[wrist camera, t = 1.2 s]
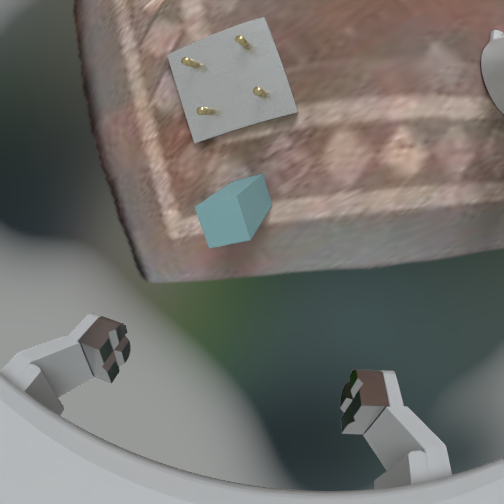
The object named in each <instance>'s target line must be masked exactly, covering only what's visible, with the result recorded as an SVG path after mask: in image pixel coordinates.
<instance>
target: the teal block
mask: <svg viewBox="0 0 504 504" xmlns="http://www.w3.org/2000/svg"><path fill="white" fill-rule="evenodd" d="M271 206H272V203H271V199H270V196H269V192H268V189H267V185H266V182H265V178H264V175H263V174H260V175H256V176H252V177H248V178H244V179H240V180H237V181H233V182H231V183H230V184H228V185H227V186H225V187H223V188H222V189H220V190H219V191H217V192H216V193H215V194H213V195H212V196H210V197H209V198H207V199H206V200H204V201H203V202H201V203H200V204H198V205H197V206H195V209H196V212H197V215H198V218H199V221H200V223H201V226H202V229H203V232H204V235H205V237H206V240H207V243H208V246H209V248H213V247H218V246H223V245H228V244H234V243H239V242H244V241H249V240H251V239H252V237H253V235H254V234H255V232H256V230H257V229H258V227H259V226H260V224H261V222H262V221H263V219H264V217H265V216H266V214H267V212H268V211H269V209H270V208H271Z"/></svg>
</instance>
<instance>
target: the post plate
mask: <svg viewBox="0 0 504 504" xmlns="http://www.w3.org/2000/svg"><path fill="white" fill-rule="evenodd" d="M167 56H168V59H169V63H170V66H171V69H172V73H173V76H174V79H175V83H176V86H177V89H178V92H179V96H180V99H181V102H182V105H183V109H184V112H185V115H186V118H187V121H188V125H189V128H190V131H191V134H192V137H193V140H194V144H195V143H199V142H202V141H205V140H208V139H210V138H213V137H216V136H219V135H222V134H225V133H228V132H231V131H234V130H238V129H241V128H244V127H247V126H251V125H254V124H257V123H261V122H264V121H268V120H272V119H275V118H279V117H283V116H287V115H291V114H295V113H298V110H297V106H296V103H295V100H294V97H293V94H292V90H291V87H290V84H289V81H288V78H287V75H286V72H285V70H284V67H283V64H282V61H281V58H280V55H279V53H278V50H277V47H276V45H275V42H274V39H273V37H272V34H271V31H270V29H269V26H268V24H267V21H266V19H265V17H262V18H258V19H255V20H252V21H249V22H246V23H243V24H240V25H237V26H234V27H231V28H228V29H226V30H223V31H220V32H218V33H215V34H213V35H210V36H208V37H206V38H203V39H201V40H198V41H196V42H194V43H192V44H190V45H187V46H185V47H183V48H181V49H179V50H177V51H175V52H173V53H171V54H169V55H167Z"/></svg>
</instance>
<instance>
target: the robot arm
mask: <svg viewBox="0 0 504 504" xmlns="http://www.w3.org/2000/svg"><path fill="white" fill-rule="evenodd" d="M481 69H482V75H483V79H484V82H485V85H486V88H487V90H488V92H489V95H490V96H491V98H492V100H493V102H494V103H495V105H496V106H497V108H498V109H499V110H500V111H501V112H502V113H503V114H504V33H503V32H500V31H498V30H494V31H492V32H491V36H490V42H489V44H488V45H487V46H486V47H485V48H484V50H483V53H482V57H481ZM126 333H127V329H126V325H124V324H123V323H120V322H117V321H114V320H111V319H108V318H106V317H103V316H100V315H97V314H95V313H90V314H88V315H87V316H86V317H85V318H84V319H83V321H82V322H80V324H79V325H78V326H77V327H76V328H75V329H74V330H73V331H72V332H71V333H70V334H69V335H68V336H67V337H66V336H62V337H59V338H57V339H54V340H51V341H49V342H46V343H43V344H40V345H37V346H35V347H32V348H29V349H26V350H23V351H21V352H18V353H17V354H16V355H15V356H14V357H13V358H12V359H11V360H10V362H9V363H8V364H7V365H6V366H5V367H4V368H3V369H2V370H1V371H0V504H504V457H503V458H501V459H498V460H496V461H493V462H491V463H488V464H486V465H483V466H480V467H477V468H474V469H472V470H468V471H465V472H461V473H458V474H454V475H452V473H451V468H450V463H449V458H448V454H447V449H446V445H445V444H444V443H443V442H442V441H441V440H440V439H439V438H438V437H437V436H436V435H435V434H434V433H433V432H432V431H431V430H430V429H429V428H428V427H427V426H426V425H425V424H424V423H423V422H422V421H421V420H420V419H419V418H418V417H417V416H416V415H415V414H414V413H413V412H412V411H411V410H410V409H409V408H408V407H407V406H406V407H405V406H404V405H403V401H402V397H401V393H400V389H399V385H398V382H397V379H396V375H395V372H394V371H383V370H382V371H379V370H364V369H354V370H353V371H352V372H351V374H350V376H349V377H350V381H349V382H347V383H346V384H345V385H344V387H343V389H342V393H341V397H340V408H341V410H343V412H344V414H343V416H342V417H341V432H342V433H344V434H364V435H363V436H364V437H365V439H366V440H367V442H368V443H369V445H370V446H371V448H372V449H373V451H374V452H375V454H376V455H377V457H378V458H379V460H380V461H381V462H382V464H383V466H384V467H385V469H386V470H387V471H386V472H385V473H384V474H383V475H381V476H380V477H378V478H377V479H376V480H375V481H374V485H375V489H371V490H357V491H301V490H287V489H276V488H267V487H260V486H252V485H246V484H241V483H235V482H230V481H225V480H220V479H216V478H211V477H207V476H203V475H199V474H195V473H192V472H188V471H185V470H181V469H178V468H175V467H172V466H169V465H166V464H163V463H159V462H156V461H154V460H151V459H148V458H146V457H143V456H141V455H138V454H136V453H133V452H131V451H128V450H126V449H124V448H121V447H119V446H117V445H115V444H112V443H110V442H108V441H106V440H104V439H102V438H100V437H98V436H96V435H94V434H92V433H90V432H88V431H86V430H84V429H82V428H80V427H79V426H77V425H75V424H73V423H72V422H70V421H68V420H66V419H65V418H63V417H61V416H60V415H61V413H62V412H63V410H64V407H63V405H62V404H61V402H60V400H59V399H58V397H60V396H62V395H63V394H65V393H67V392H69V391H70V390H72V389H74V388H76V387H78V386H79V385H81V384H83V383H85V382H86V381H88V380H90V379H92V378H93V376H94V377H97V378H99V379H102V380H104V381H107V382H109V383H112V382H113V381H114V379H115V377H116V376H117V374H118V373H119V366H120V365H122V364H124V363H125V362H126V361H127V359H128V357H129V354H130V341H129V340H128V338H127V337H126V336H125V334H126Z"/></svg>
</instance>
